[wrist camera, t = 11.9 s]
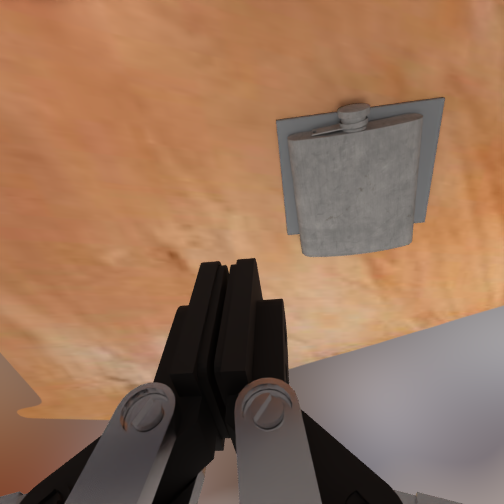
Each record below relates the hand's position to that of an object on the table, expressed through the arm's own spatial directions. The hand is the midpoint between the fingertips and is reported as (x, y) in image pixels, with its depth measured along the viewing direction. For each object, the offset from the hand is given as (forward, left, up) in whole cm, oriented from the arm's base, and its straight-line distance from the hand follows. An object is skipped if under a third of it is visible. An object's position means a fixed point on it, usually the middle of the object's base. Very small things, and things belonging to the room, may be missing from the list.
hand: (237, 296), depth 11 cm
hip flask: (-11, +23, -34) cm, 43 cm away
